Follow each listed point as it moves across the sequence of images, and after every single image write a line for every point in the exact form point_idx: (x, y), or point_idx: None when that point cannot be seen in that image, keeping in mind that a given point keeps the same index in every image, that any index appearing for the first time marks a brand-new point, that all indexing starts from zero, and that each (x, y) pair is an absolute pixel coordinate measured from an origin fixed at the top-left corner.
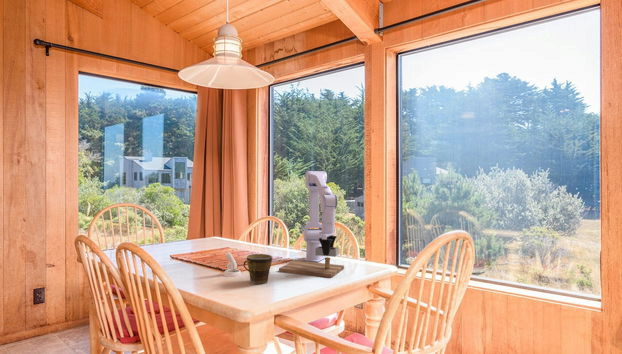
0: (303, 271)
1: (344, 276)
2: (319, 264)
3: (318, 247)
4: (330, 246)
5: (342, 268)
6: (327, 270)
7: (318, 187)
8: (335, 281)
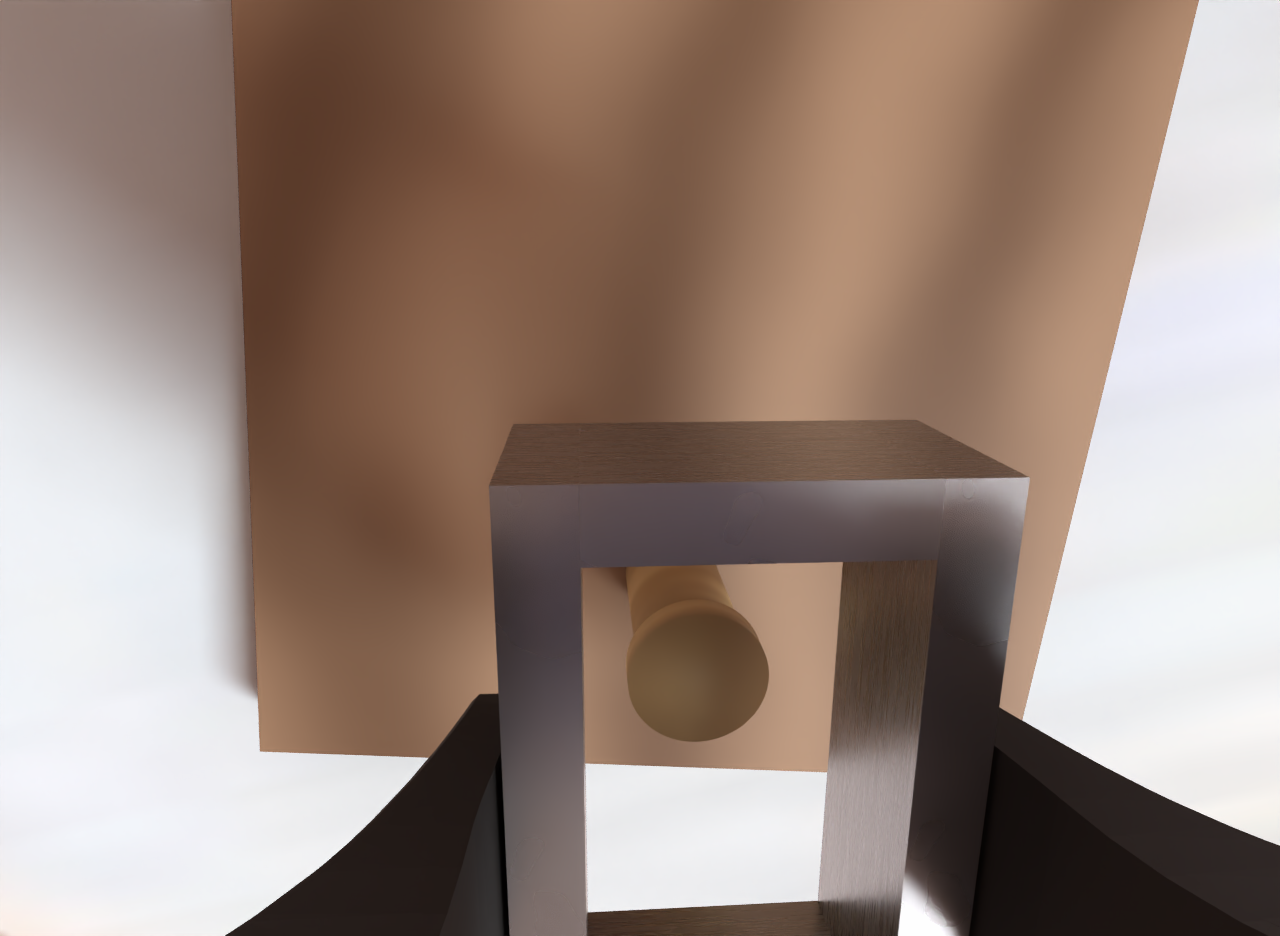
0: (243, 176)
1: None
2: (969, 337)
3: (758, 538)
4: (990, 913)
5: None
6: None
7: None
8: (109, 812)
